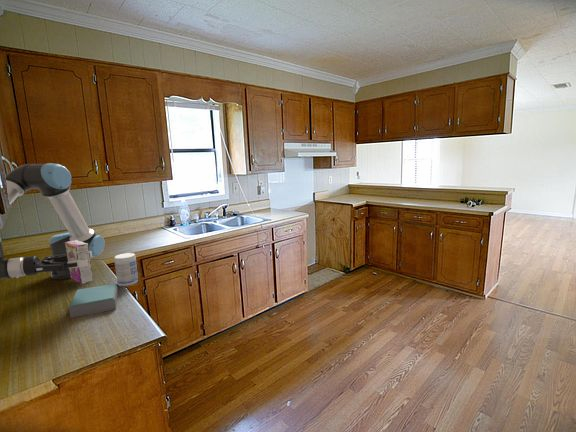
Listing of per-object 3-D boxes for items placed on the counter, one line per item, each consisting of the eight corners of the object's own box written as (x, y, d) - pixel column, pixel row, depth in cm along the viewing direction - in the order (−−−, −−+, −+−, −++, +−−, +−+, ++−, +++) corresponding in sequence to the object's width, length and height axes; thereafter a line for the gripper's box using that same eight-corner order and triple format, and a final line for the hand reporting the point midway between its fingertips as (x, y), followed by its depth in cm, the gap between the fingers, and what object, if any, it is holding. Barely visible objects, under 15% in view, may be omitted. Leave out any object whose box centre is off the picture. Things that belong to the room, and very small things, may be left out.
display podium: (77, 300, 139) (76, 289, 138) (118, 292, 146) (116, 282, 145) (70, 317, 123) (68, 306, 122) (116, 308, 130) (114, 297, 129)
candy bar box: (69, 279, 132) (64, 242, 129) (82, 275, 136) (77, 239, 133) (81, 284, 126) (75, 246, 123) (94, 280, 130) (89, 243, 127)
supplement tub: (137, 285, 154) (133, 257, 151) (115, 288, 151) (112, 259, 148) (139, 278, 163) (136, 251, 160) (119, 281, 160) (116, 253, 157)
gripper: (36, 266, 133) (94, 258, 142) (15, 286, 112) (86, 276, 121) (33, 249, 132) (92, 243, 141) (12, 266, 110) (83, 257, 119)
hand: (89, 258), depth 131 cm, fingers closed on candy bar box, 12 cm apart
